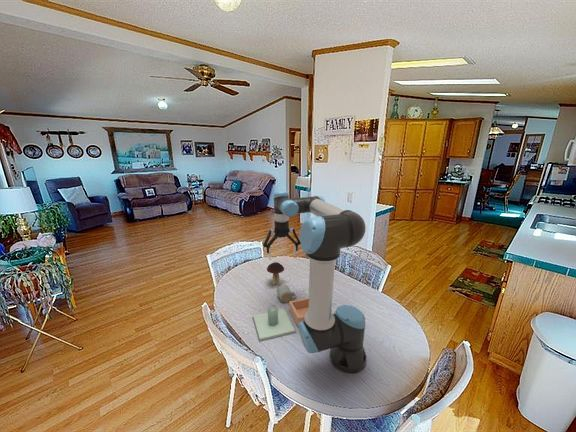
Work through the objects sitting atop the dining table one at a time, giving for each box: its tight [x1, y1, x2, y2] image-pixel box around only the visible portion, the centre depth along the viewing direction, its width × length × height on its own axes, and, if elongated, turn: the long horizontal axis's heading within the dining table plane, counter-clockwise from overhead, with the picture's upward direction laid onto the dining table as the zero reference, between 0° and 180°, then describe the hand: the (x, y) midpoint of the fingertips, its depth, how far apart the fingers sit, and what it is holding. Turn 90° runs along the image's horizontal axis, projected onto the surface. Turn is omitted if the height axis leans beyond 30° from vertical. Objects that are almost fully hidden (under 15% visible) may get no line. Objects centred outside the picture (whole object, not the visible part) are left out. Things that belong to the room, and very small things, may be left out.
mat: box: [251, 309, 297, 343], centre depth 129 cm, size 18×18×1 cm
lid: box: [252, 305, 296, 342], centre depth 127 cm, size 17×17×9 cm
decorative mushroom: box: [266, 261, 285, 286], centre depth 163 cm, size 11×11×15 cm
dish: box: [288, 297, 309, 329], centre depth 134 cm, size 14×14×6 cm
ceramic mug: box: [276, 284, 297, 304], centre depth 149 cm, size 11×8×8 cm
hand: (282, 257), depth 140 cm, fingers open, 13 cm apart
